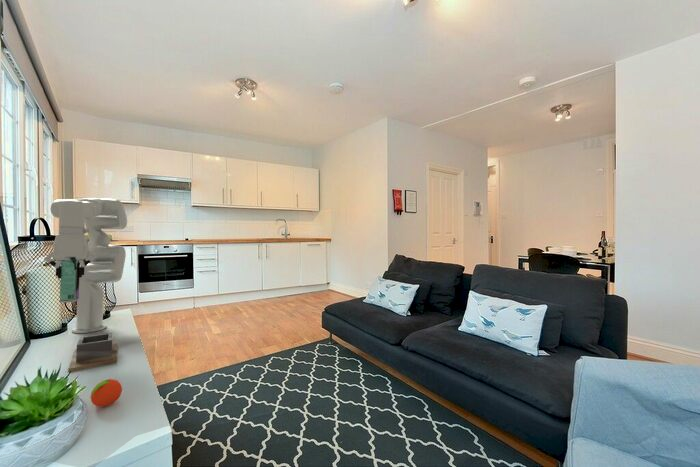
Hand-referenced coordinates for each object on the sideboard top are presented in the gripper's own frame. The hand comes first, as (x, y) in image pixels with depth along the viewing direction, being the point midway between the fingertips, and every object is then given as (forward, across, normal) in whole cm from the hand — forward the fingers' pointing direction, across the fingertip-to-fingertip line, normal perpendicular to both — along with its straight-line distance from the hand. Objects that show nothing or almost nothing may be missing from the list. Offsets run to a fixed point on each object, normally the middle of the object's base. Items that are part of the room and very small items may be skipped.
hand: (70, 277), depth 120 cm
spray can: (+10, 0, 0) cm, 10 cm away
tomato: (+29, -13, +54) cm, 63 cm away
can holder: (+29, -9, +13) cm, 33 cm away
